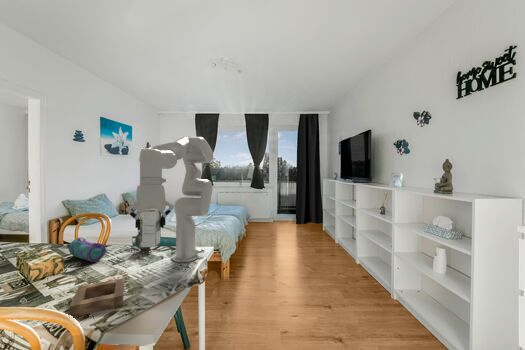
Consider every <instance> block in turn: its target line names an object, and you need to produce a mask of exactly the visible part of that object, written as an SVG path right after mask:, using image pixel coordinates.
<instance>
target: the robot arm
mask: <svg viewBox="0 0 525 350" xmlns="http://www.w3.org/2000/svg"><path fill="white" fill-rule="evenodd" d="M181 159H182V161H183V164H184V167H185V174H184V179H183V183H182V187H181V192H182V195H184V197H180V198H177V199H176V200H175V202H174V205H173V204H171V202H169V201H167V200H166V193H165V191H166V190H165V186H164V184H163V183H166V182H167V179H166V178H164V177H163V170H171V169H173V168H174V167H175V166H176V165H177V163H178V160H181ZM213 160H214V152H213V149H212V148H211V146H210V144H209V143H208V141H207V140H206V139H205V138H204V137H202V136H183V137H181V138H179V139H177V140H175V141H173V142H167V143H164V144H158V145H154V146H150V147H148V148H144V149H141V150H140V152H139V158H138V161H139V184H138V185H137V186H136V193H135V202H133V203H131V204H130V205H129V206H127V207H126V208H125V211H126V212H127V213H128V214H129V216H130V217H131V218H133V219H134V220H135V229H137V231H140V213H142V212H144V211H145V209H146V208H157V209H158V212H160V213H161V229H164V227H165V226H166V217H168V215H169V214H170V213H171V212H172V210H173V209H174V215H175V254H174V255H173V256H172V261H174V262H176V263H190V262H193V261H196V260H197V259H198V258H199V254H202V253H203V254H204V253H205V248H199V247H198V248H196V222H195V219H194V218H193V217H206V216H207V215H208V214H209V211H210V206H211V201H212V196H213V184H212V181H211V180H209V179H205V178H204V179H203V178H202V171H201V169H200V167H199V166H198V165H197V164H210V163H212V161H213ZM185 196H186V197H185ZM166 206H167V207H168V209H167V210H166ZM134 208H135V211H136V213H135V212H134V211H133V210H132V209H134ZM165 210H166V211H165Z"/></svg>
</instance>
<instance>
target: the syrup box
mask: <svg viewBox="0 0 525 350" xmlns="http://www.w3.org/2000/svg"><path fill="white" fill-rule="evenodd" d="M161 216H162V214H161V213H160V212H158V209H157V208H146V209H145V211H144V212H142V213H140V217H139V219H140V230H139V231H140V246H139V247H151V248H155V247H157V246H158V245H159V244H160V243H161V242H162V241H161V236H162V235H161V233H162V231H161V230H162V228H161Z"/></svg>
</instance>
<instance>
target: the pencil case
mask: <svg viewBox="0 0 525 350" xmlns="http://www.w3.org/2000/svg"><path fill="white" fill-rule="evenodd" d="M66 249H68V252H69V253H70V254H71V256H73V257H74V258H75V257H76V258H79V259H80V260H84V261H88V262H91V263H97V262H98V261H100V260H101V259H102V258H103V257H104V256H105V254H106V252H107V248H106V246H105V244H104V243H103V244H102V243H100V242H90V241H87V239H86V238H84V237H78V238H76V239H74V240H72V241H71V243H69V244H66Z"/></svg>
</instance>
